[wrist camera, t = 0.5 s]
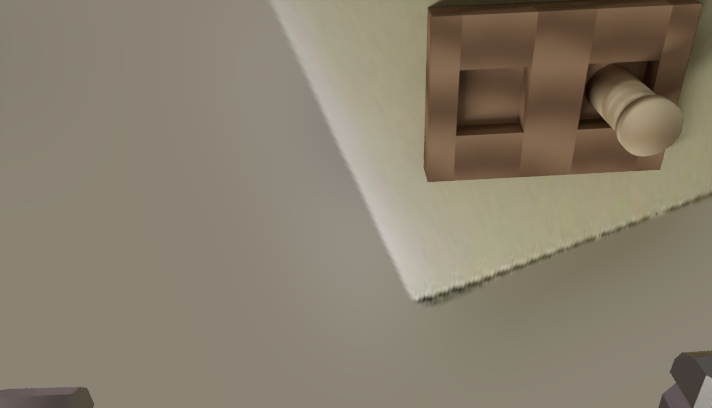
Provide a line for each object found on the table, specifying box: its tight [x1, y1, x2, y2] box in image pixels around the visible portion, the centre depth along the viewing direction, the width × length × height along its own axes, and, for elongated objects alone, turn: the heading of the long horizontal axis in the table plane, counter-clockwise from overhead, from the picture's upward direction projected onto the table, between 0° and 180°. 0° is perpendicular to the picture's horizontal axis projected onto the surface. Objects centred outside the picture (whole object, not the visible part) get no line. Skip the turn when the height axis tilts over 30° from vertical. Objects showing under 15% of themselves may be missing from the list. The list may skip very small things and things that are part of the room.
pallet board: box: [424, 0, 703, 182], centre depth 48 cm, size 14×20×9 cm
